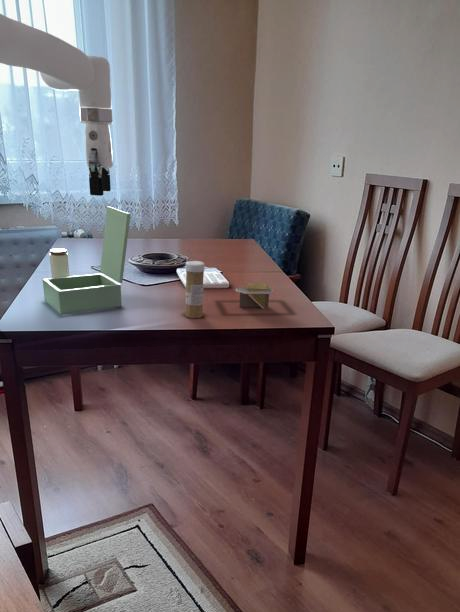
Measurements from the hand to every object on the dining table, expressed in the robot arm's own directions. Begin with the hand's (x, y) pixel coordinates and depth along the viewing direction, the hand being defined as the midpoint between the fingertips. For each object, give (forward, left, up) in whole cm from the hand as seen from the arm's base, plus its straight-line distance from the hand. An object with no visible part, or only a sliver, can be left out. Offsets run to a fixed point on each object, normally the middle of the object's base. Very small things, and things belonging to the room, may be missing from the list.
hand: (100, 193), depth 141 cm
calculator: (+33, +4, -27) cm, 42 cm away
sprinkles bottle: (+13, -26, -27) cm, 40 cm away
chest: (-9, -7, -26) cm, 29 cm away
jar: (-9, +10, -26) cm, 30 cm away
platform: (+31, -27, -27) cm, 49 cm away
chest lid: (0, -7, -11) cm, 13 cm away
